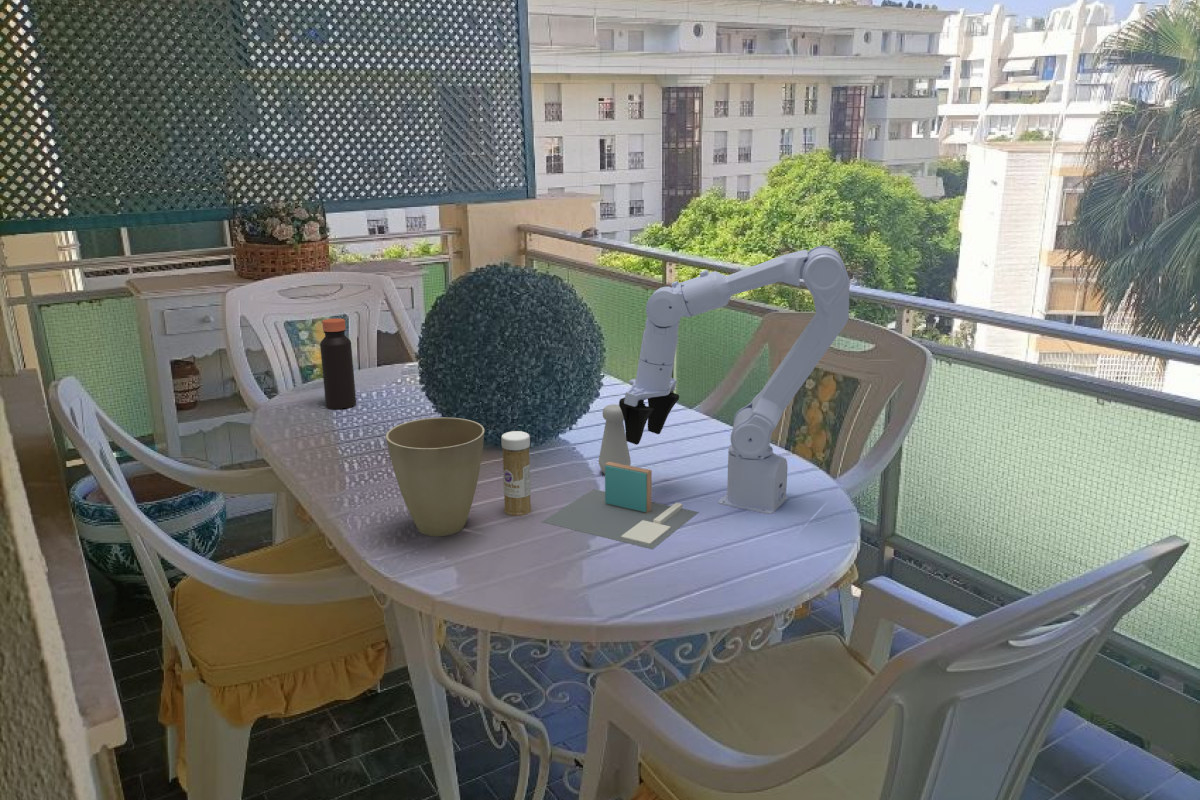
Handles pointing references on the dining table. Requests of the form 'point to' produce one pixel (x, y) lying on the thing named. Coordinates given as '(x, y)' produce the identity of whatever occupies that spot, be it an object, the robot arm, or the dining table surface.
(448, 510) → the plant pot
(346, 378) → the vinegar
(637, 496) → the tile
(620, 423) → the salt shaker
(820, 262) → the robot arm
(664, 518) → the turner
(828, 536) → the dining table surface
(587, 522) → the mat
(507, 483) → the sprinkles bottle
